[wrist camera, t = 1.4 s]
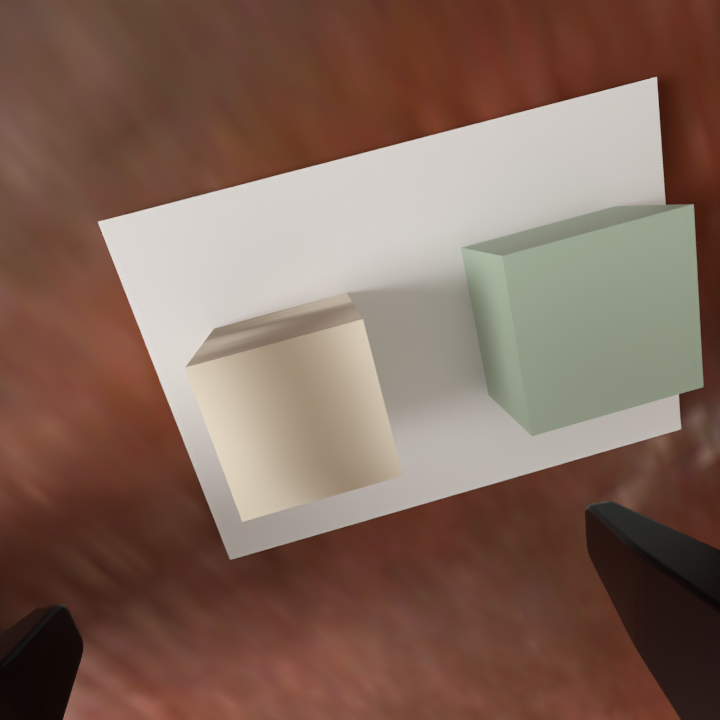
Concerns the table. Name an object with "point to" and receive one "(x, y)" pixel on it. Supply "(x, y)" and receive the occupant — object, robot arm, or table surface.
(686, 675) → the robot arm
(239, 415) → the cream block
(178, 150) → the table surface
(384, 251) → the pale grey board
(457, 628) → the table surface
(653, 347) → the green block
